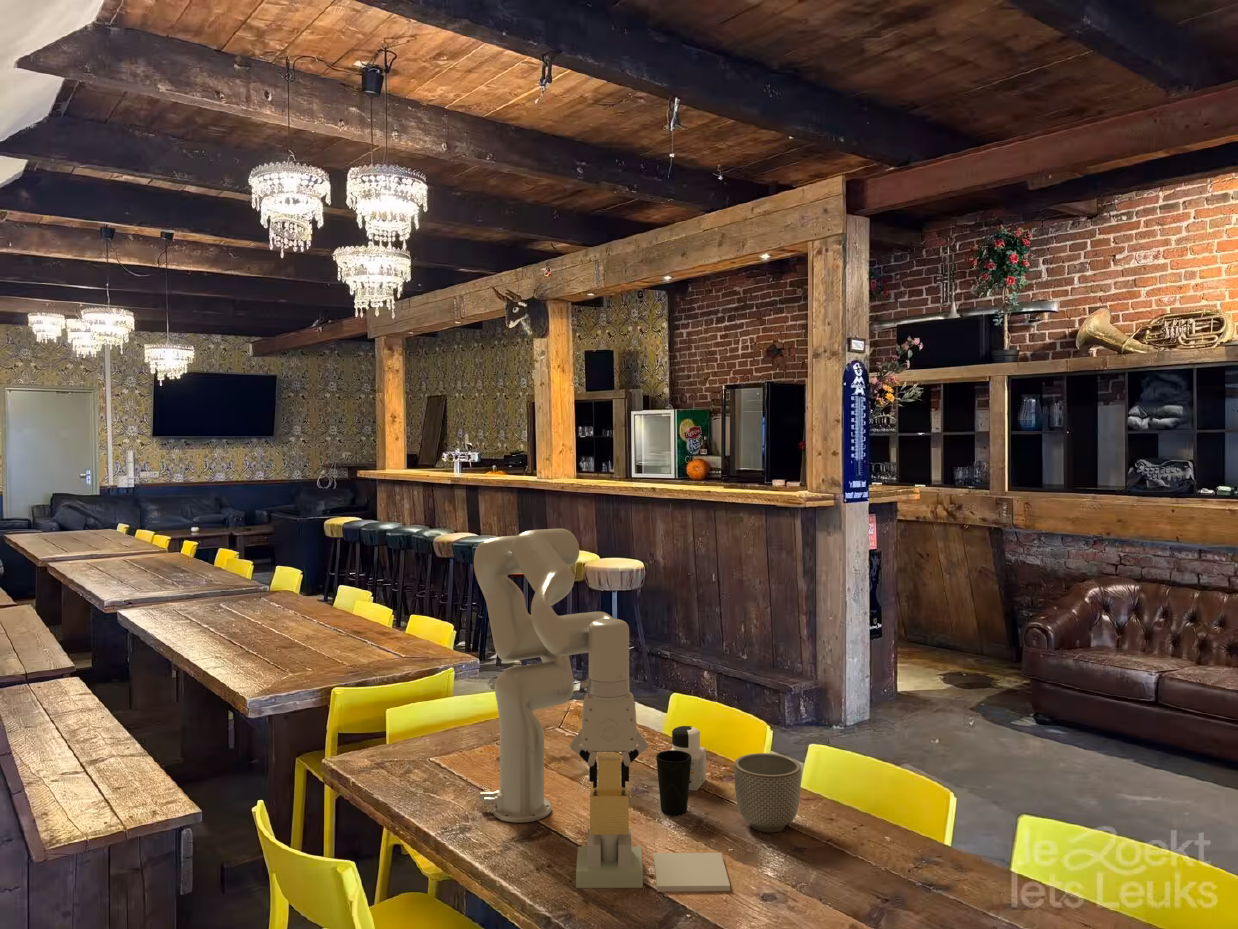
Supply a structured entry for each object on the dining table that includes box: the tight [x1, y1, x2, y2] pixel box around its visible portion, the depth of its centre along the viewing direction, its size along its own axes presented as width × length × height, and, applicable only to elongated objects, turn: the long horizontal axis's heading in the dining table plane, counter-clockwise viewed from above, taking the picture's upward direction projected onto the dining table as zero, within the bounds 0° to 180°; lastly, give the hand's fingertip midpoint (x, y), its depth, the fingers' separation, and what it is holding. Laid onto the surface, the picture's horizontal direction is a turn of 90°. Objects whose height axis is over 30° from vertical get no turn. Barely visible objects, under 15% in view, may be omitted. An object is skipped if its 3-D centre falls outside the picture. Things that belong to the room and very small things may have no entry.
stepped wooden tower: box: [589, 752, 630, 835], centre depth 166 cm, size 7×7×13 cm
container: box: [670, 725, 707, 792], centre depth 211 cm, size 8×8×13 cm
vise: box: [575, 828, 644, 889], centre depth 166 cm, size 12×10×15 cm
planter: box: [733, 752, 802, 833], centre depth 187 cm, size 14×14×13 cm
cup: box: [655, 749, 692, 817], centre depth 195 cm, size 8×8×12 cm
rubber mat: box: [653, 852, 731, 893], centre depth 166 cm, size 13×13×1 cm
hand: (609, 784), depth 166 cm, fingers open, 4 cm apart
